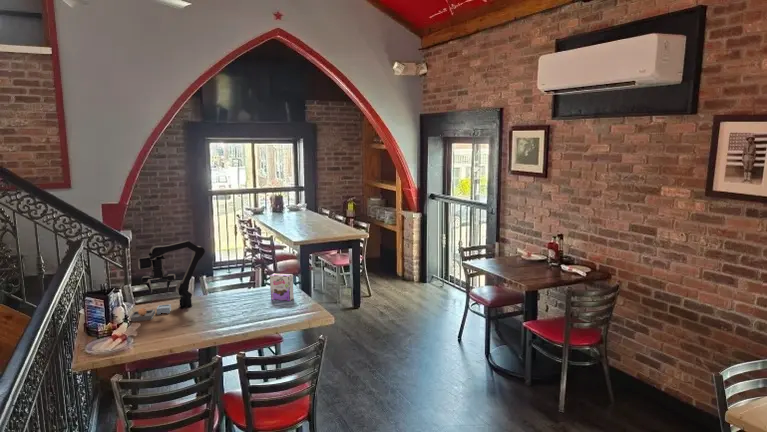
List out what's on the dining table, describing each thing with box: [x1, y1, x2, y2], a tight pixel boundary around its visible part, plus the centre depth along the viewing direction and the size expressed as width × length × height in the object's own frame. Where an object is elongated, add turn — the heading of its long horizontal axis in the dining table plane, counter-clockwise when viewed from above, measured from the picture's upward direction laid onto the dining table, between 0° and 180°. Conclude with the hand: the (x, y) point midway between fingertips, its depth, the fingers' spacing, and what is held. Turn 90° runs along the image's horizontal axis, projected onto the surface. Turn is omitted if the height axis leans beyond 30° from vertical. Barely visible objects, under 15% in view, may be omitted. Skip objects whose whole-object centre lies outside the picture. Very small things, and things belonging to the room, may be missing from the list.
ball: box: [138, 307, 146, 316], centre depth 311 cm, size 4×4×4 cm
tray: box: [129, 309, 156, 322], centre depth 311 cm, size 12×12×2 cm
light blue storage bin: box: [156, 303, 172, 315], centre depth 320 cm, size 7×7×4 cm
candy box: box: [269, 272, 295, 302], centre depth 339 cm, size 14×6×16 cm, turn 73°
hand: (159, 291), depth 321 cm, fingers open, 9 cm apart
